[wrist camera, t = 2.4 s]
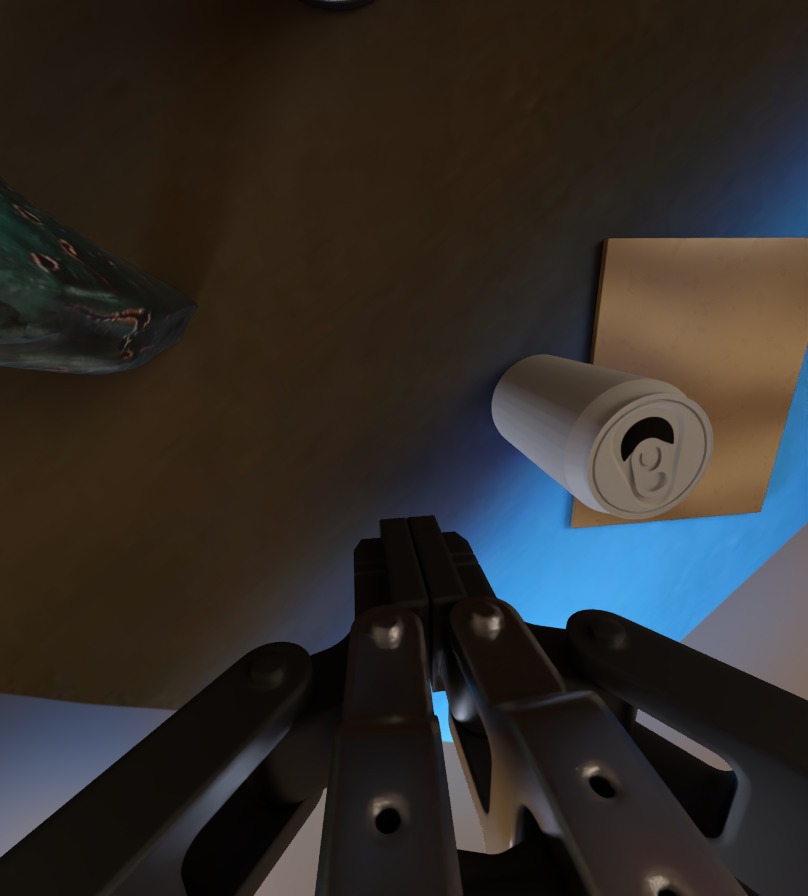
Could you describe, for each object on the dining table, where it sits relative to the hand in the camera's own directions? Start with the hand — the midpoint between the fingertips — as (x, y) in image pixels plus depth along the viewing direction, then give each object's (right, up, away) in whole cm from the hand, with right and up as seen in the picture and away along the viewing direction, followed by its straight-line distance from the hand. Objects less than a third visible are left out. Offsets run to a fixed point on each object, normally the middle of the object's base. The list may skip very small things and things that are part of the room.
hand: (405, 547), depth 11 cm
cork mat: (+21, +7, +18) cm, 28 cm away
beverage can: (+9, +6, +17) cm, 20 cm away
